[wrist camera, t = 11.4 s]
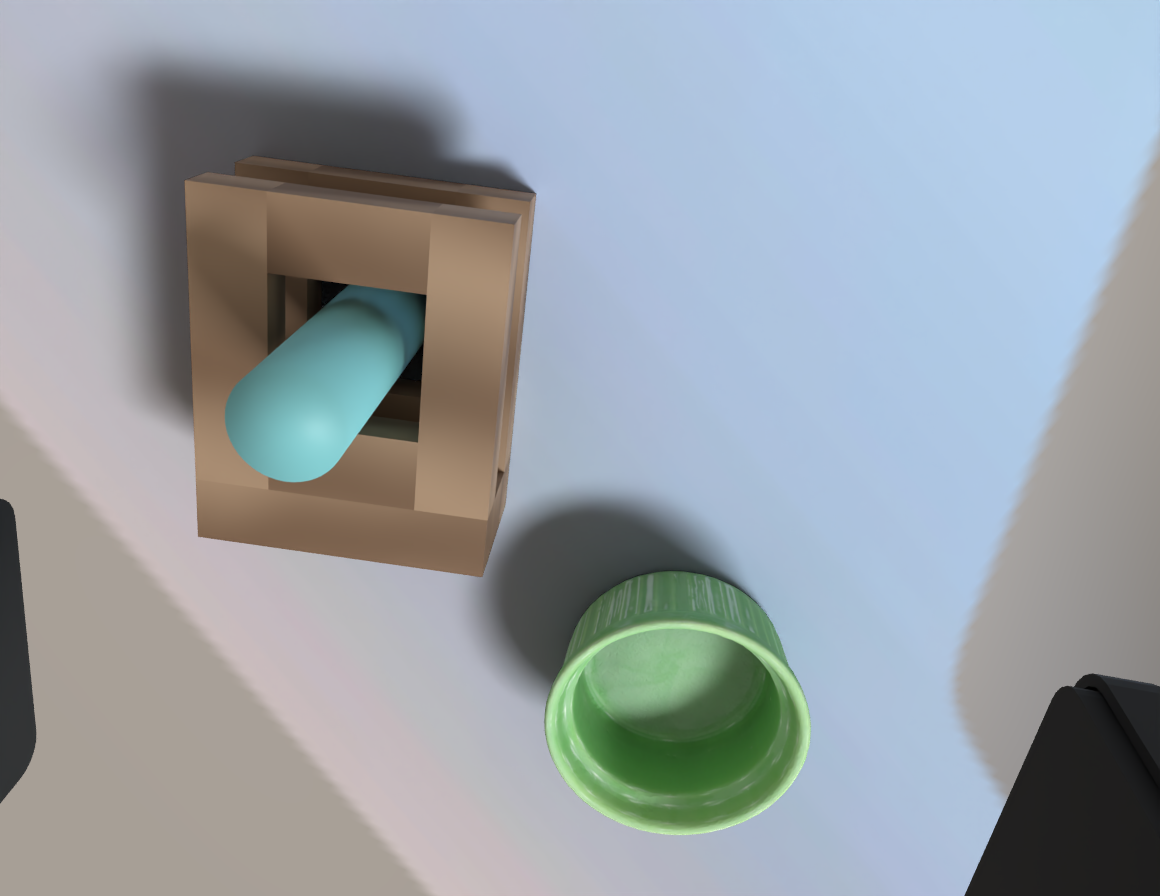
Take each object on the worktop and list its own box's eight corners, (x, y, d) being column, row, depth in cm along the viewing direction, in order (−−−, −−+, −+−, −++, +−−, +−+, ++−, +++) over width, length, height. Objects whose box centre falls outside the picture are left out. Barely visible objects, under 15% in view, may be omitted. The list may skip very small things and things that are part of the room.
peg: (344, 262, 33) (223, 359, 24) (436, 274, 33) (348, 376, 24) (342, 349, 34) (226, 473, 25) (430, 361, 34) (345, 490, 25)
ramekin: (746, 779, 40) (755, 865, 36) (529, 716, 40) (513, 795, 36) (833, 596, 37) (853, 668, 33) (595, 524, 36) (586, 588, 32)
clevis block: (253, 155, 32) (184, 180, 27) (536, 193, 32) (514, 224, 27) (256, 470, 36) (198, 536, 32) (505, 505, 36) (482, 576, 32)
